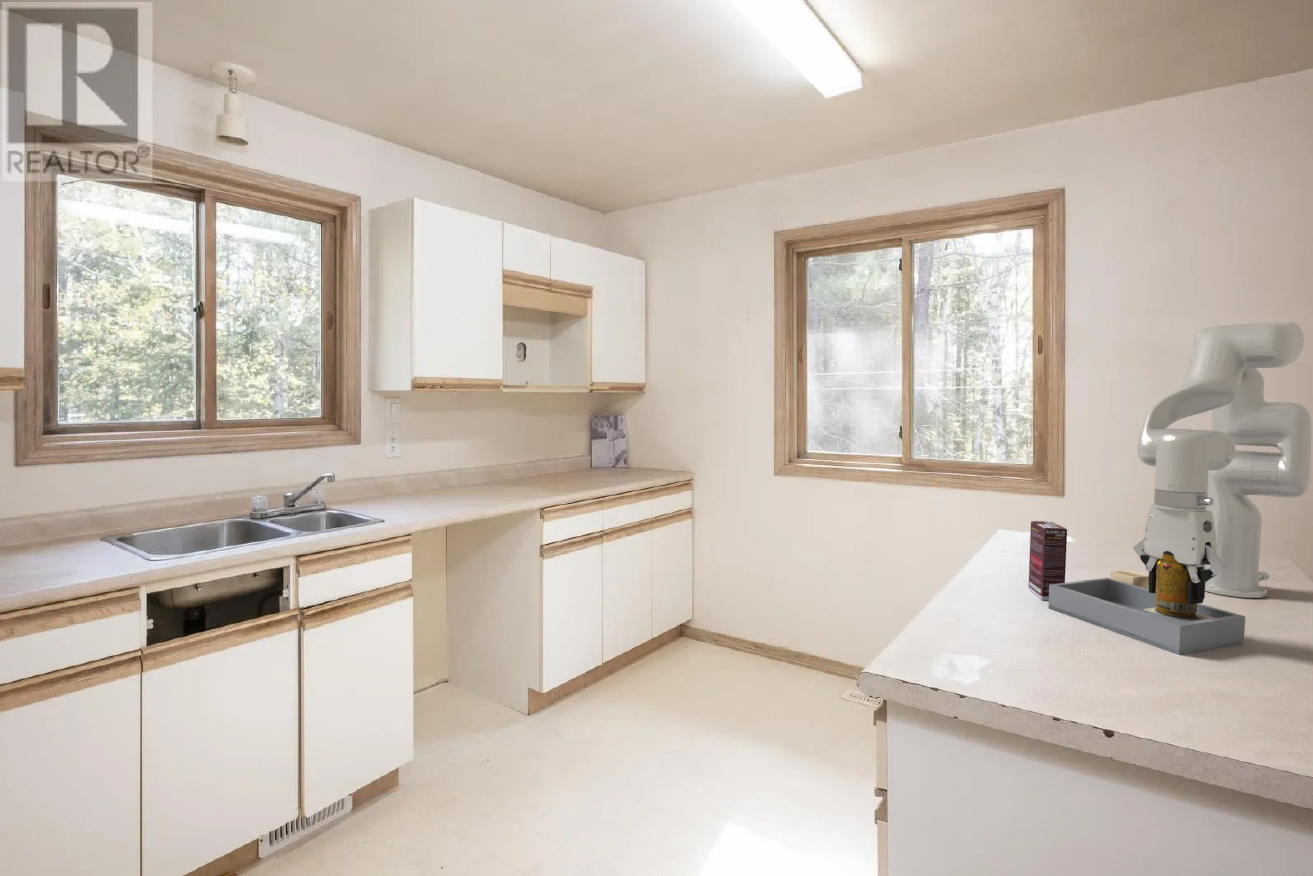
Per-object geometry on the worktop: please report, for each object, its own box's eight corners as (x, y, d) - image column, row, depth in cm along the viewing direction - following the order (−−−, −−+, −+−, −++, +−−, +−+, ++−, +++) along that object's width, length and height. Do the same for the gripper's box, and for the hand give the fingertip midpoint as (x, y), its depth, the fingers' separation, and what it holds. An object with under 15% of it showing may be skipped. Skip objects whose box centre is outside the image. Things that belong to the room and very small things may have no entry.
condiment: (1167, 605, 127) (1170, 543, 126) (1219, 619, 119) (1222, 553, 118) (1142, 610, 124) (1145, 547, 123) (1193, 625, 116) (1196, 557, 115)
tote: (1106, 600, 143) (1107, 577, 143) (1243, 643, 119) (1245, 616, 118) (1048, 608, 139) (1049, 584, 138) (1178, 654, 114) (1180, 626, 113)
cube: (1127, 592, 150) (1127, 570, 149) (1149, 598, 145) (1150, 576, 145) (1110, 594, 148) (1111, 572, 148) (1131, 600, 144) (1132, 578, 143)
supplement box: (1065, 602, 143) (1068, 528, 142) (1041, 600, 144) (1043, 528, 143) (1050, 590, 151) (1052, 521, 150) (1027, 589, 152) (1029, 520, 151)
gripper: (1248, 506, 114) (1243, 610, 115) (1147, 492, 130) (1143, 583, 131) (1217, 509, 111) (1212, 614, 113) (1118, 494, 128) (1114, 586, 129)
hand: (1175, 596), depth 122 cm, fingers closed on condiment, 6 cm apart
